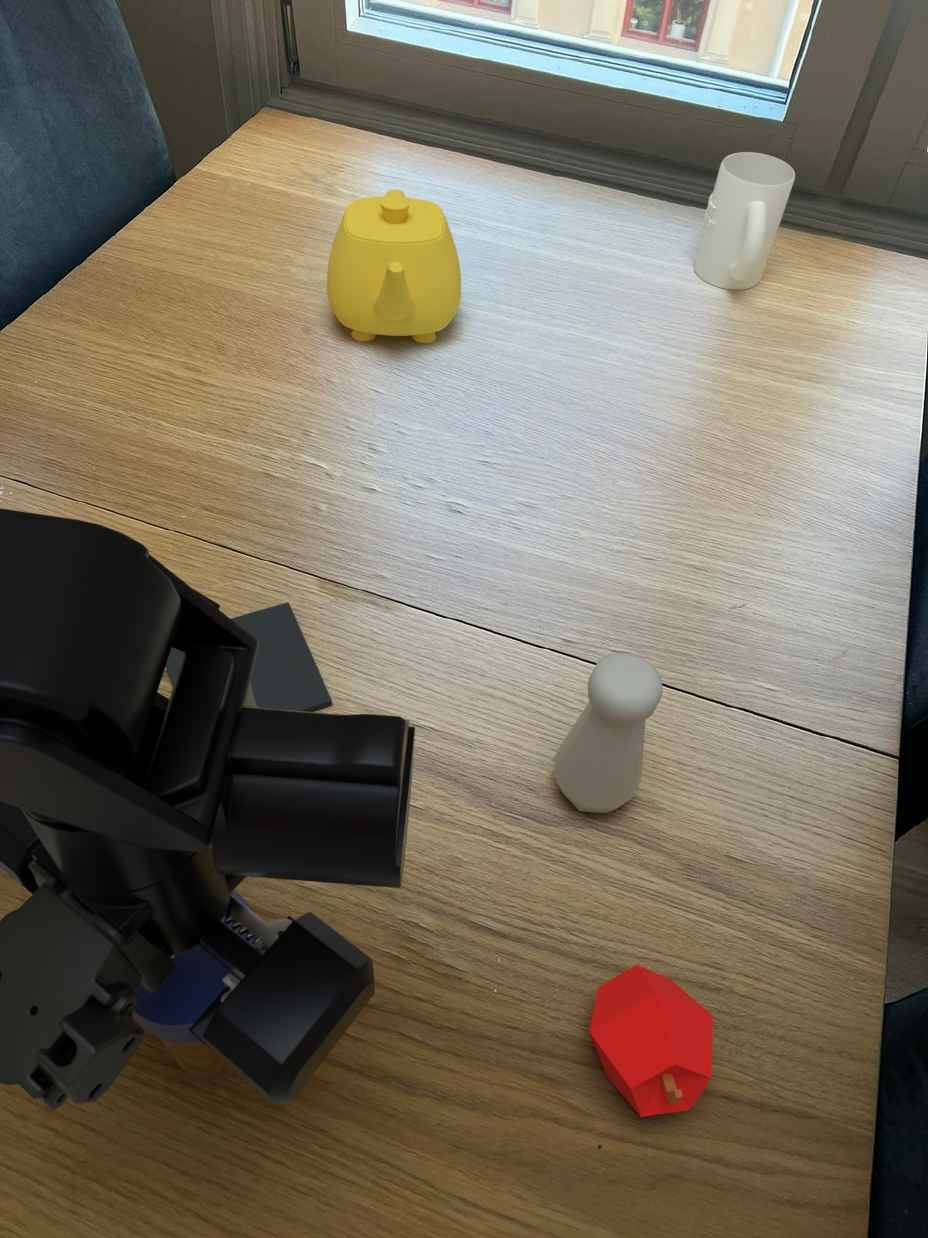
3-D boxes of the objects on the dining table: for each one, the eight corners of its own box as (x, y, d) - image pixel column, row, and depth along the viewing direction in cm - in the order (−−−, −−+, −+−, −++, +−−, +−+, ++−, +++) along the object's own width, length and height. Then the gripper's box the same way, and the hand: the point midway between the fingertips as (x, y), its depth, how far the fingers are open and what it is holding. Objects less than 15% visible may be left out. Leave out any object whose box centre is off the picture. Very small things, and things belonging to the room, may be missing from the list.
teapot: (456, 277, 105) (463, 161, 95) (463, 385, 92) (472, 265, 82) (332, 272, 104) (327, 155, 94) (322, 381, 91) (314, 259, 81)
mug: (698, 305, 104) (728, 199, 95) (688, 251, 112) (715, 148, 103) (771, 312, 104) (808, 207, 95) (756, 257, 112) (789, 155, 103)
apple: (587, 934, 52) (630, 1064, 45) (699, 939, 53) (757, 1065, 46) (555, 1018, 55) (590, 1151, 48) (661, 1020, 56) (711, 1150, 49)
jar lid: (141, 1070, 43) (128, 1052, 41) (111, 936, 47) (98, 913, 45) (285, 1008, 45) (280, 988, 43) (245, 884, 49) (239, 861, 47)
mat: (193, 751, 64) (191, 746, 63) (159, 644, 69) (157, 639, 69) (332, 705, 67) (332, 700, 66) (289, 606, 72) (288, 601, 72)
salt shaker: (534, 765, 65) (561, 650, 55) (607, 740, 66) (646, 624, 56) (573, 837, 61) (610, 729, 51) (648, 809, 63) (698, 698, 53)
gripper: (-232, 839, 33) (-67, 988, 45) (138, 1202, 27) (215, 1263, 39) (32, 644, 39) (115, 821, 51) (382, 902, 33) (383, 1035, 45)
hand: (196, 970), depth 46 cm, fingers closed on jar lid, 7 cm apart
